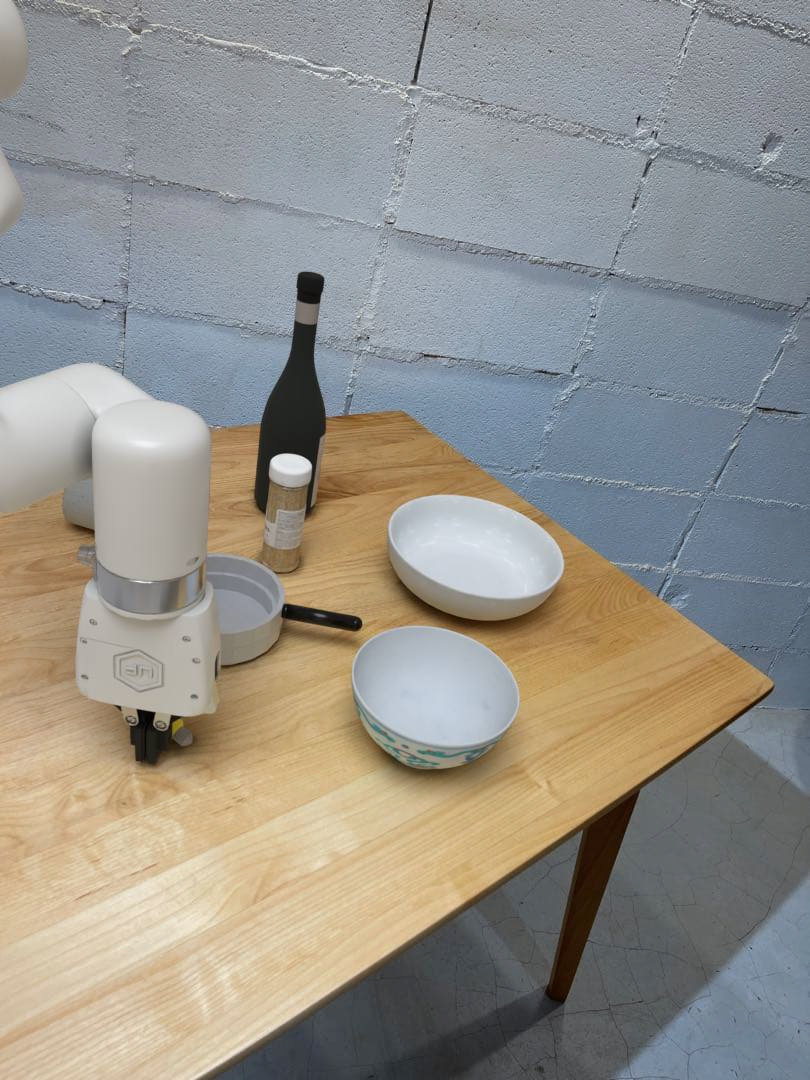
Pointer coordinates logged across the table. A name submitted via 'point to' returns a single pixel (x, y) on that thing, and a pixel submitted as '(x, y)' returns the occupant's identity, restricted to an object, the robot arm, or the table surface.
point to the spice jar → (285, 511)
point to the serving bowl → (473, 556)
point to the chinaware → (432, 695)
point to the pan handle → (321, 617)
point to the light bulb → (181, 734)
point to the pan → (245, 605)
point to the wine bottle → (296, 399)
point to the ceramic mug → (79, 504)
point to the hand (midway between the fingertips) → (151, 750)
